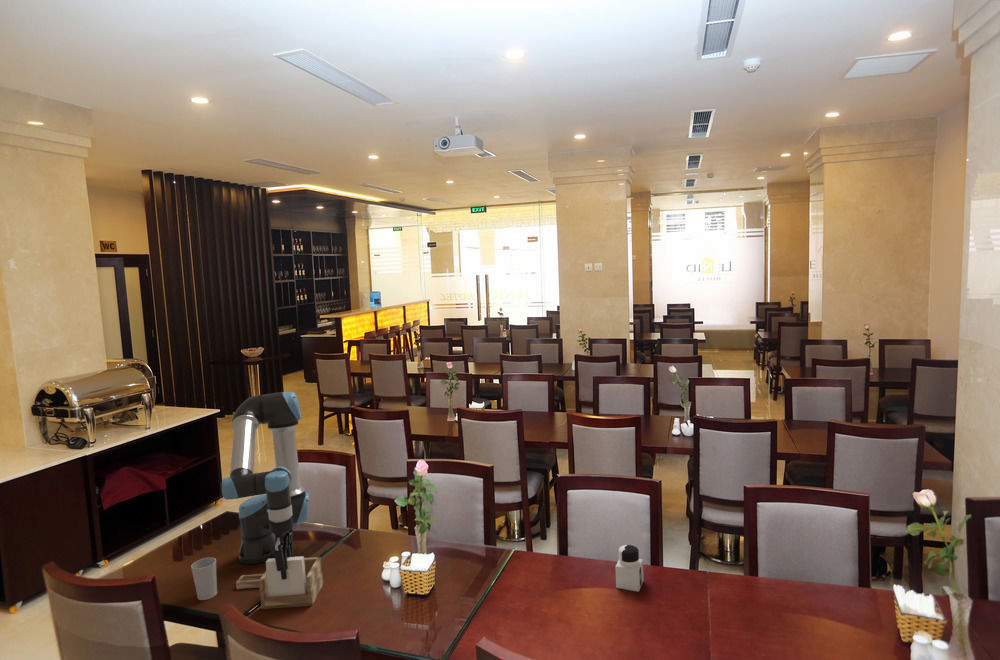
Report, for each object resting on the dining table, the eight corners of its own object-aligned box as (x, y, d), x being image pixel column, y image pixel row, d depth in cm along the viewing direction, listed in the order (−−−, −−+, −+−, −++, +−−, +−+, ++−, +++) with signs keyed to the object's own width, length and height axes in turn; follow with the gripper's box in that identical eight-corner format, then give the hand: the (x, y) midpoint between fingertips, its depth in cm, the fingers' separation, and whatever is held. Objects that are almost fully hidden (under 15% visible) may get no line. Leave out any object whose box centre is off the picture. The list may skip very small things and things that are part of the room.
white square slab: (272, 594, 201) (268, 558, 200) (307, 591, 201) (303, 555, 200) (269, 598, 199) (265, 562, 197) (305, 596, 199) (301, 559, 198)
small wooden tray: (242, 581, 216) (241, 575, 216) (281, 578, 217) (281, 572, 216) (236, 589, 211) (235, 582, 211) (277, 586, 212) (276, 579, 211)
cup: (209, 602, 204) (205, 569, 203) (189, 600, 205) (185, 568, 204) (224, 589, 212) (221, 557, 210) (205, 588, 213) (201, 557, 212)
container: (643, 580, 200) (642, 544, 199) (639, 592, 193) (637, 554, 192) (621, 576, 204) (619, 540, 202) (615, 588, 197) (614, 551, 195)
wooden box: (275, 586, 211) (273, 560, 210) (323, 583, 212) (320, 556, 211) (261, 609, 197) (258, 581, 196) (312, 605, 198) (309, 577, 197)
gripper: (277, 509, 205) (284, 573, 207) (261, 529, 189) (268, 597, 192) (299, 508, 205) (305, 572, 207) (284, 527, 189) (291, 596, 192)
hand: (287, 584), depth 199 cm, fingers closed on white square slab, 2 cm apart
